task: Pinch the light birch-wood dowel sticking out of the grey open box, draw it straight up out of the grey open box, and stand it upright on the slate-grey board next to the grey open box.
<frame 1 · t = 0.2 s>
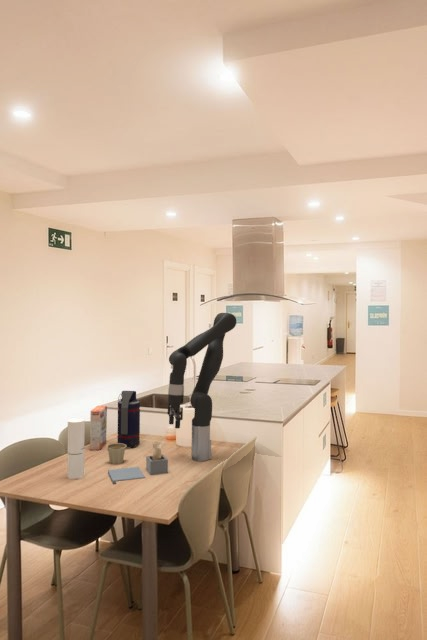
hand: (174, 426, 233), 18 cm above the table, tool pointing down, fingers open, 8 cm apart
grenade: (127, 446, 259), on the table
dowel: (156, 470, 218), point 1 cm above the table, touching grey open box
cylindrical container: (75, 476, 212), on the table
grey open box: (156, 473, 218), on the table
flower pot: (116, 464, 230), on the table
cracker box: (98, 446, 257), on the table
board: (126, 476, 213), on the table
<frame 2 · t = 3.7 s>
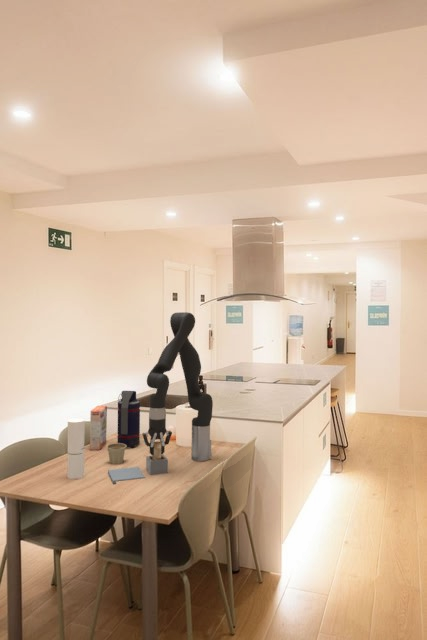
hand: (156, 454, 217), 9 cm above the table, tool pointing down, fingers closed on dowel, 4 cm apart
dowel: (156, 470, 218), point 1 cm above the table, touching grey open box, gripper
everything else where it was.
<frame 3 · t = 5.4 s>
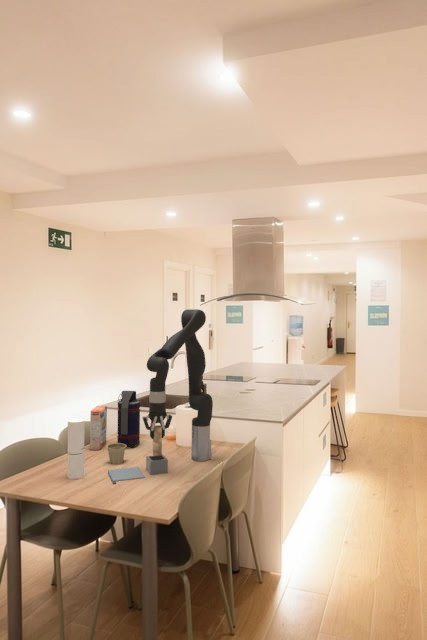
hand: (157, 437, 217), 16 cm above the table, tool pointing down, fingers closed on dowel, 4 cm apart
dowel: (157, 454, 218), point 8 cm above the table, touching gripper
everything else where it was.
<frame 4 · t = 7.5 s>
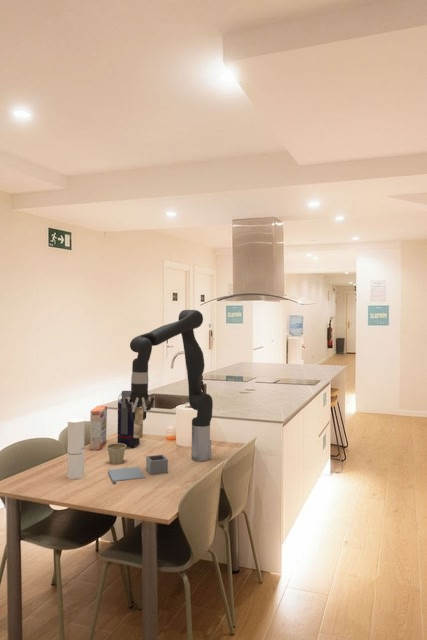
hand: (138, 419, 213), 25 cm above the table, tool pointing down, fingers closed on dowel, 4 cm apart
dowel: (138, 437, 214), point 17 cm above the table, touching gripper
everything else where it was.
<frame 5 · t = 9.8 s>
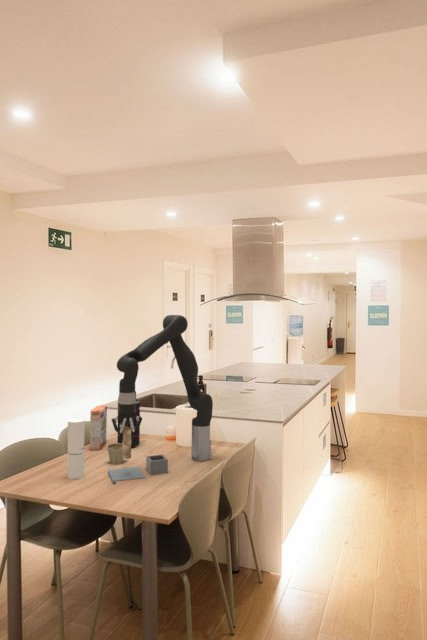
hand: (126, 440, 212), 16 cm above the table, tool pointing down, fingers closed on dowel, 4 cm apart
dowel: (126, 457, 212), point 9 cm above the table, touching gripper
everything else where it was.
when the fingers open (10 cm above the table, at t = 11.6 s): dowel stays where it is, resting on board.
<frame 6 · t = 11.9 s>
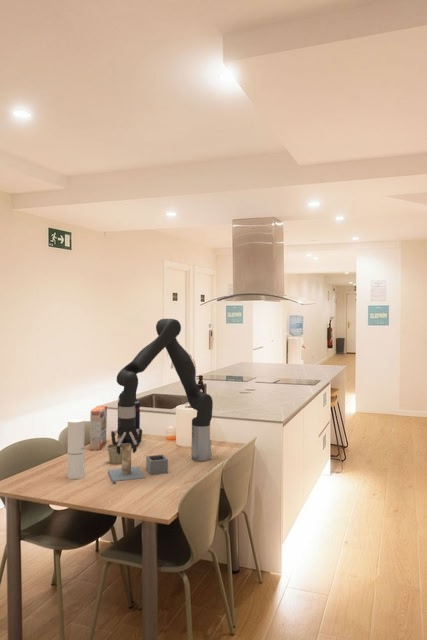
hand: (126, 453, 212), 11 cm above the table, tool pointing down, fingers open, 6 cm apart
dowel: (126, 473, 212), point 2 cm above the table, touching board
everything else where it was.
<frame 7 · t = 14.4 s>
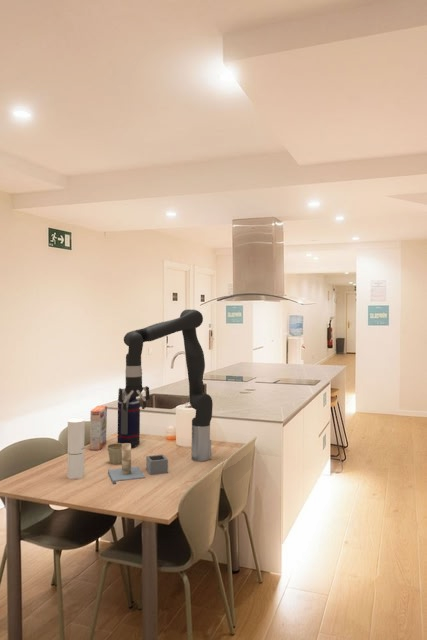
hand: (134, 409, 221), 28 cm above the table, tool pointing down, fingers open, 8 cm apart
nothing on the table moved.
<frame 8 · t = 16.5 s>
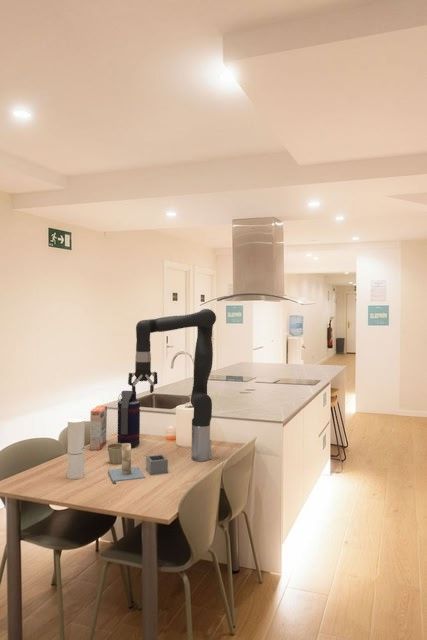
hand: (142, 393, 236), 33 cm above the table, tool pointing down, fingers open, 8 cm apart
nothing on the table moved.
at the end: dowel inside the target area on the board (0.1 cm from its centre), point 1.5 cm above the board's base; dowel tilted 1°; the gripper is holding nothing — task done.
